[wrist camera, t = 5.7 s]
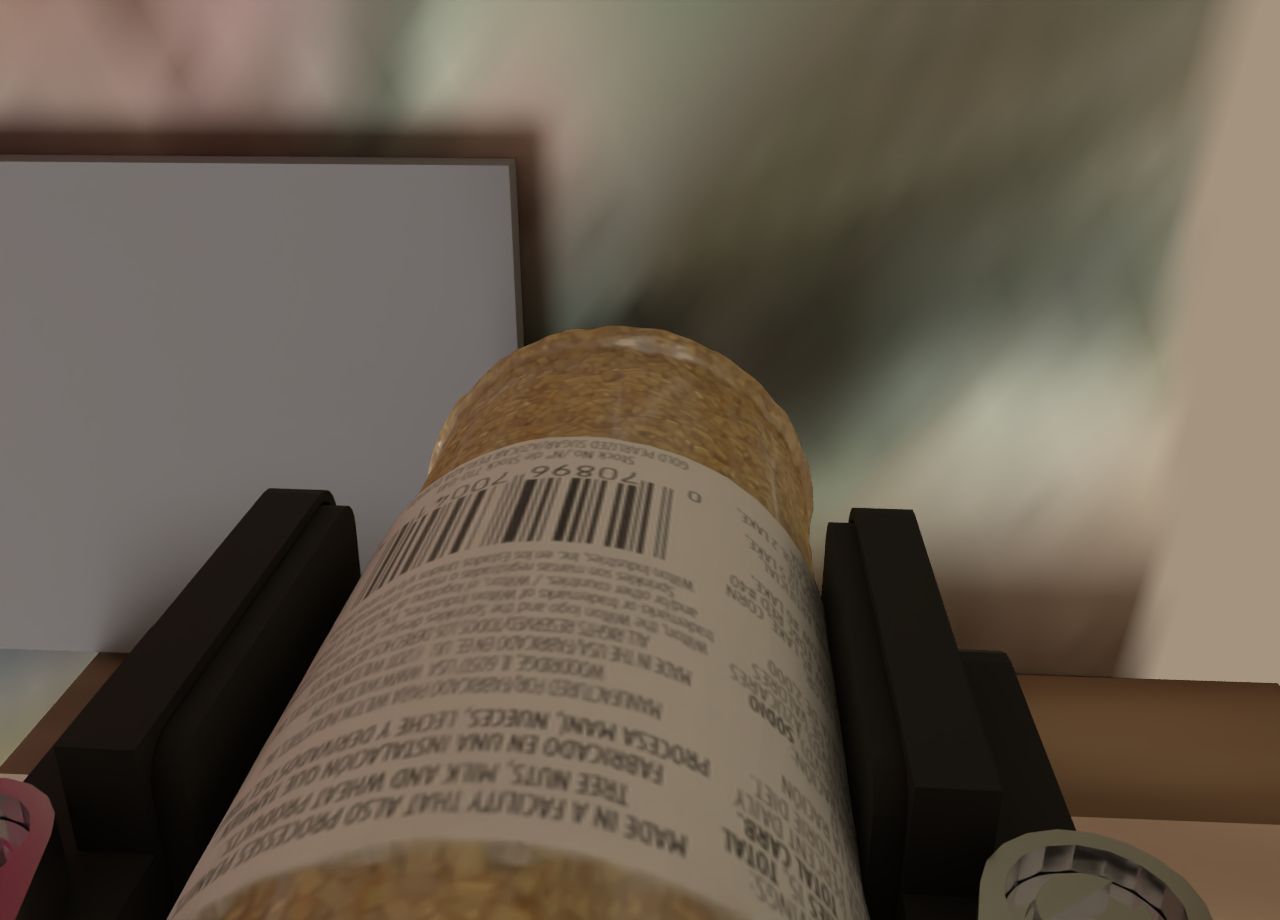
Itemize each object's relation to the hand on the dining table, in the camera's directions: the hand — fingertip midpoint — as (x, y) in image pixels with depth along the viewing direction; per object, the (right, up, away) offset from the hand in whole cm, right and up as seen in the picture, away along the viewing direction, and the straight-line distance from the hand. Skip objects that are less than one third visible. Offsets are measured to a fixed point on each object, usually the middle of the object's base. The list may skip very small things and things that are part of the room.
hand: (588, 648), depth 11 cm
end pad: (-5, +2, +5) cm, 8 cm away
